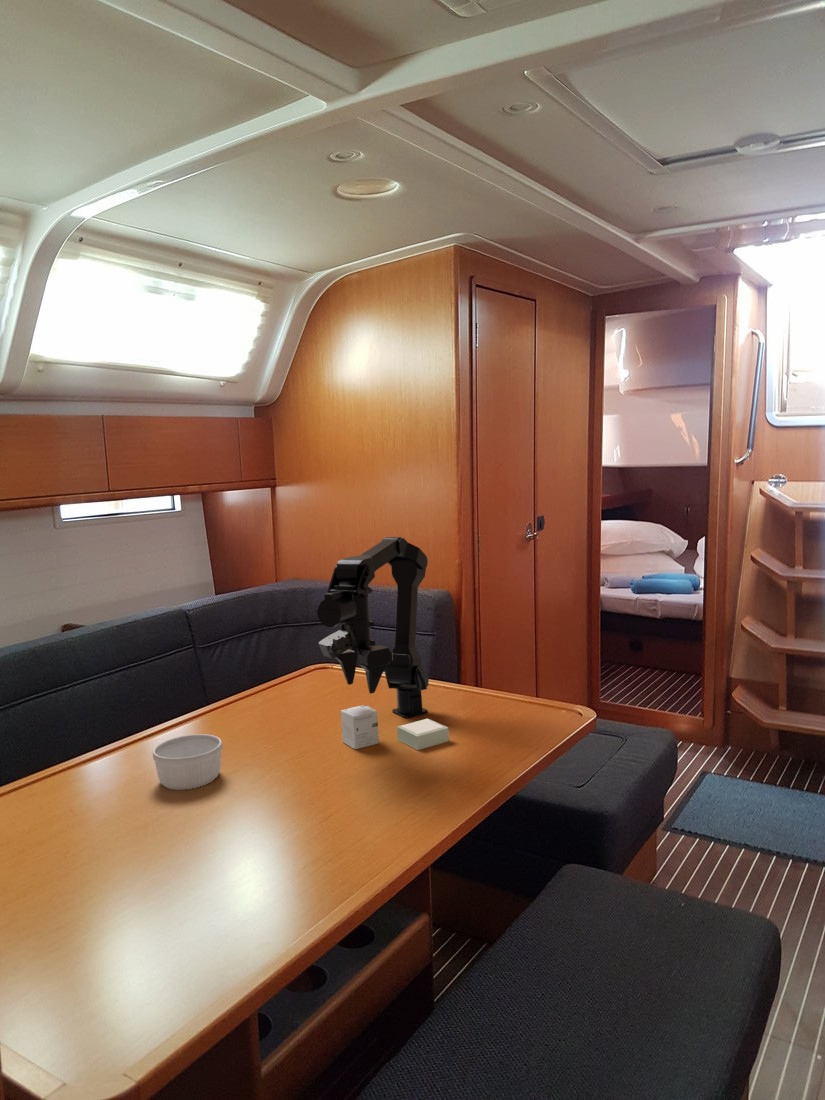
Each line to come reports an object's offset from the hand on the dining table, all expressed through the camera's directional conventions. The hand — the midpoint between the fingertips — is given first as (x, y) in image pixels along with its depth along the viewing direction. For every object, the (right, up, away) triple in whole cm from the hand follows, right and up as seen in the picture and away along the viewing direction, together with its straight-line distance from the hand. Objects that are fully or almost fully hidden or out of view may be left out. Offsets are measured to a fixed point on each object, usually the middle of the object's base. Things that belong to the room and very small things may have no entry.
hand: (360, 688), depth 165 cm
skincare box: (0, -12, +2) cm, 12 cm away
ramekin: (-33, -16, -13) cm, 39 cm away
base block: (+13, -11, +1) cm, 18 cm away
